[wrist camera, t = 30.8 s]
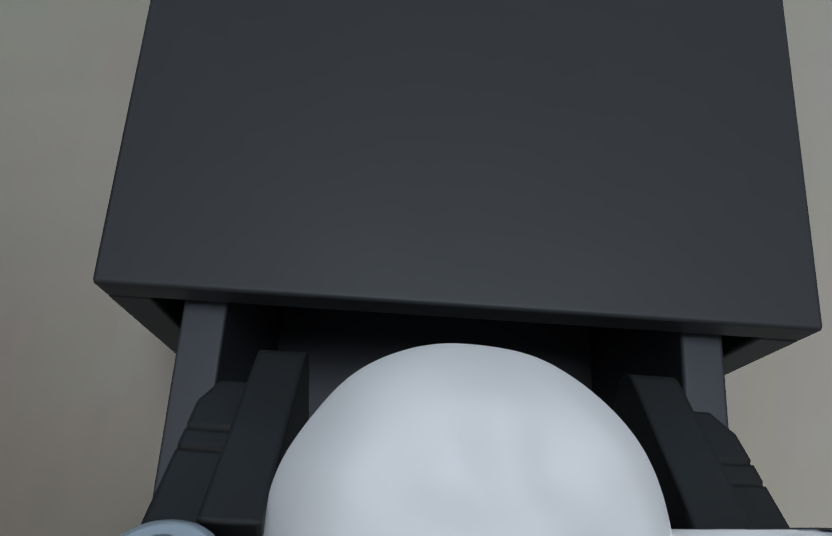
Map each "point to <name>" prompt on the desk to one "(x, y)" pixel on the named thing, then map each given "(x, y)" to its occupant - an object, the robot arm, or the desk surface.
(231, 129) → the small filing cabinet
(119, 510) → the desk surface
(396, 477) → the milkshake
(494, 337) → the drawer
